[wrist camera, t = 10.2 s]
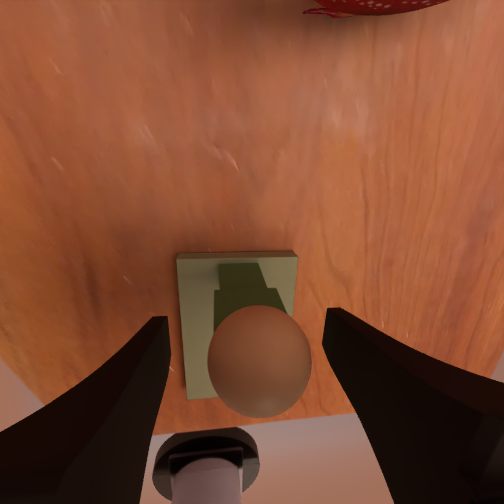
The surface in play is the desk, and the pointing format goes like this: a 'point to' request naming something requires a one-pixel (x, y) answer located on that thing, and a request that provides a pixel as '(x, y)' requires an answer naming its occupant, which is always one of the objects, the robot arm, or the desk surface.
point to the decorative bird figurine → (370, 7)
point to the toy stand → (202, 303)
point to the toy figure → (255, 345)
